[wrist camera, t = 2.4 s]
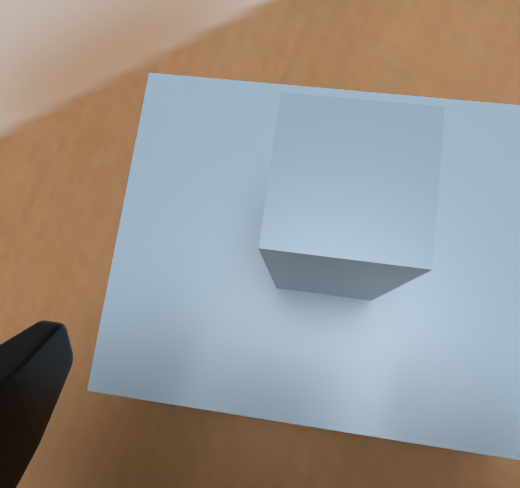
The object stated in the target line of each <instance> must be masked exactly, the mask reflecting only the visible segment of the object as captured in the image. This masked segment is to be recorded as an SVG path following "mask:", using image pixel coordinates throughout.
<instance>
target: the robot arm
mask: <svg viewBox="0 0 520 488" xmlns="http://www.w3.org/2000/svg"><path fill="white" fill-rule="evenodd" d="M72 362H73V352H72V348H71V344H70V340H69V336H68V332H67V329H66V327H65V325H64V324H62V323H58V322H52V321H40V322H38V323H36V324H34V325H32V326H31V327H29V328H27V329H26V330H24V331H22V332H21V333H19V334H17V335H16V336H14V337H12V338H11V339H9V340H7V341H6V342H4V343H2V344H1V345H0V488H16V487H17V485H18V483H19V481H20V479H21V477H22V476H23V474H24V472H25V470H26V468H27V466H28V464H29V463H30V461H31V459H32V457H33V455H34V453H35V451H36V449H37V447H38V445H39V443H40V441H41V439H42V436H43V434H44V432H45V429H46V427H47V425H48V422H49V420H50V417H51V415H52V412H53V410H54V407H55V405H56V403H57V400H58V398H59V395H60V393H61V390H62V388H63V386H64V383H65V381H66V378H67V376H68V373H69V371H70V369H71V366H72Z"/></svg>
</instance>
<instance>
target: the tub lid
mask: <svg viewBox="0 0 520 488" xmlns="http://www.w3.org/2000/svg"><path fill="white" fill-rule="evenodd" d="M87 391H91V392H97V393H103V394H110V395H116V396H122V397H128V398H135V399H141V400H147V401H153V402H160V403H166V404H172V405H178V406H185V407H191V408H197V409H203V410H209V411H216V412H222V413H228V414H234V415H241V416H247V417H253V418H259V419H266V420H272V421H278V422H284V423H291V424H297V425H303V426H309V427H315V428H322V429H328V430H334V431H340V432H347V433H353V434H359V435H365V436H372V437H378V438H384V439H390V440H397V441H403V442H409V443H415V444H421V445H428V446H434V447H440V448H446V449H453V450H459V451H465V452H471V453H478V454H484V455H490V456H496V457H503V458H509V459H515V460H520V105H511V104H500V103H488V102H477V101H466V100H454V99H443V98H431V97H420V96H409V95H397V94H386V93H375V92H363V91H352V90H340V89H329V88H318V87H306V86H295V85H284V84H272V83H261V82H249V81H238V80H227V79H215V78H204V77H193V76H181V75H170V74H159V73H149V76H148V81H147V86H146V92H145V97H144V102H143V107H142V112H141V117H140V122H139V127H138V132H137V138H136V143H135V148H134V153H133V158H132V163H131V168H130V173H129V178H128V183H127V189H126V194H125V199H124V204H123V209H122V214H121V219H120V224H119V229H118V235H117V240H116V245H115V250H114V255H113V260H112V265H111V270H110V275H109V280H108V286H107V291H106V296H105V301H104V306H103V311H102V316H101V321H100V326H99V332H98V337H97V342H96V347H95V352H94V357H93V362H92V367H91V372H90V377H89V383H88V388H87Z"/></svg>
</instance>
